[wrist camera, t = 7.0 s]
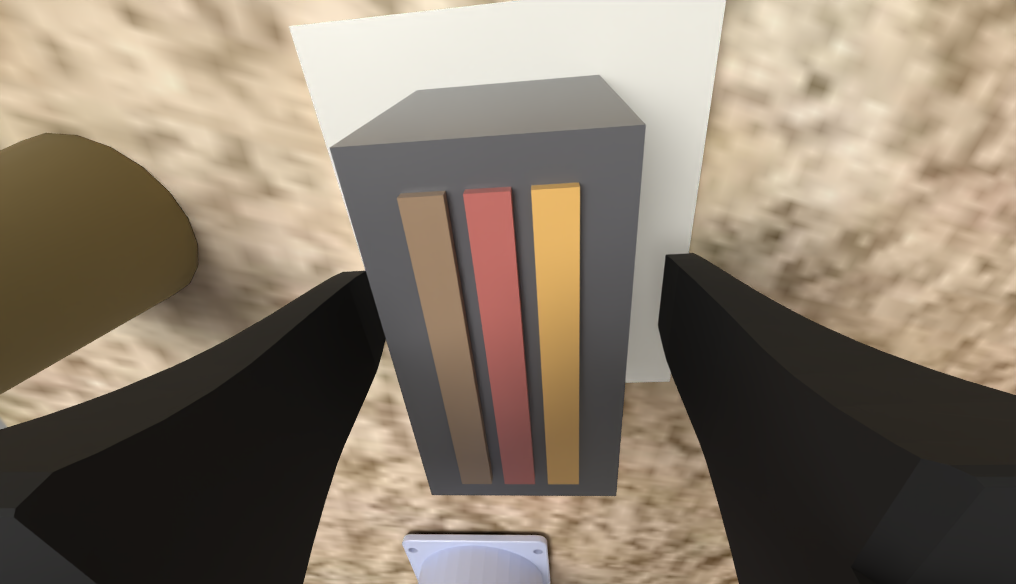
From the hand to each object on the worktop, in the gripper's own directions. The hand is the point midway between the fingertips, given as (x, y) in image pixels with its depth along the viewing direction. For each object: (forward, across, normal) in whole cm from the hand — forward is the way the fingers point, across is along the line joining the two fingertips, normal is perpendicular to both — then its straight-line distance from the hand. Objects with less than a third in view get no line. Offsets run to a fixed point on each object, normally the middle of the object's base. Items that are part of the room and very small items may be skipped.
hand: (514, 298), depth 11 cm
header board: (+4, 0, 0) cm, 4 cm away
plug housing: (+3, 0, 0) cm, 3 cm away
